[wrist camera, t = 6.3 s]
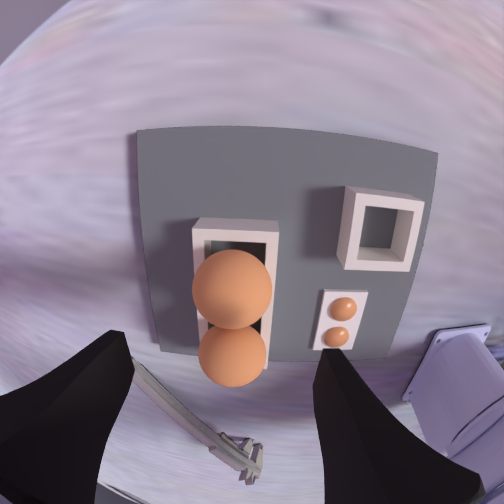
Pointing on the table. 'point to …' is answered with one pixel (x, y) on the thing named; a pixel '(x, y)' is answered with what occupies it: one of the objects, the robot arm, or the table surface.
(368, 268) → the tube
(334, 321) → the card
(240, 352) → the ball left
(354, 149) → the mat
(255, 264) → the ball
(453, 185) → the table surface
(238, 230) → the hollow rectangular frame
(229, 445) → the caliper
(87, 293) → the table surface
